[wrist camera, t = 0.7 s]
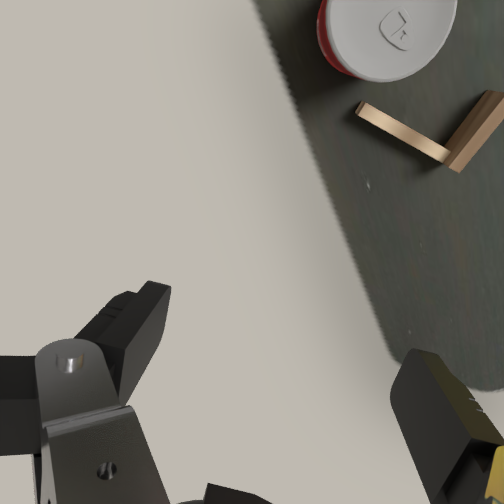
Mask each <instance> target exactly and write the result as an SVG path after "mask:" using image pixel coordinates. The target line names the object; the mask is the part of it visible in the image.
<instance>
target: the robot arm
mask: <svg viewBox="0 0 504 504" xmlns="http://www.w3.org/2000/svg"><path fill="white" fill-rule="evenodd" d="M170 295H171V286H168V285H165V284H161V283H157V282H153V281H147V282H146V283H145V284H144V286H143V287H142V288H141V289H140V290H139V292H138V293H134V292H130V291H126V292H124V293H121V294H119V295H117V296H115V297H113V298H112V299H111V300H110V301H109V302H108V303H107V304H106V306H105V307H103V308H102V309H101V310H100V311H99V313H98V314H97V315H96V316H95V317H94V318H93V319H92V320H91V321H90V322H89V323H88V324H87V325H86V326H85V327H84V328H83V329H82V330H81V331H80V332H79V333H78V334H77V335H76V336H75V337H74V338H73V339H63V340H58V341H55V342H52V343H50V344H48V345H46V346H45V347H43V348H42V349H41V350H40V351H39V352H38V353H37V355H36V356H0V456H7V455H23V454H31V457H32V469H33V481H34V493H35V504H170V502H169V499H168V497H167V494H166V491H165V489H164V486H163V483H162V481H161V478H160V475H159V473H158V470H157V468H156V465H155V462H154V460H153V457H152V455H151V452H150V449H149V447H148V444H147V442H146V439H145V436H144V434H143V431H142V428H141V426H140V423H139V421H138V418H137V415H136V413H135V411H134V409H133V408H132V407H131V406H130V405H128V406H125V405H126V403H127V401H128V400H129V398H130V396H131V394H132V392H133V391H134V389H135V387H136V385H137V384H138V382H139V380H140V378H141V376H142V374H143V373H144V371H145V369H146V367H147V365H148V364H149V362H150V360H151V358H152V356H153V355H154V353H155V351H156V349H157V347H158V346H159V343H160V341H161V338H162V335H163V331H164V327H165V322H166V316H167V311H168V306H169V300H170ZM390 401H391V406H392V409H393V411H394V413H395V416H396V418H397V421H398V423H399V426H400V429H401V431H402V433H403V436H404V439H405V441H406V444H407V446H408V448H409V451H410V454H411V456H412V458H413V461H414V463H415V466H416V469H417V471H418V474H419V476H420V479H421V481H422V483H423V486H424V488H425V491H426V493H427V496H428V498H429V501H430V503H431V504H504V439H503V437H502V436H501V434H500V433H499V432H498V430H497V429H496V428H495V426H494V425H493V423H492V422H491V421H490V419H489V418H488V416H487V415H486V414H485V413H483V409H482V408H481V407H480V405H479V404H478V403H477V402H476V401H475V398H474V397H473V396H472V394H471V393H470V391H469V390H468V389H467V387H466V386H465V385H464V384H463V383H462V382H461V381H459V380H458V379H457V378H456V377H455V376H454V375H453V374H452V373H451V372H450V371H449V369H448V368H447V366H446V365H445V364H444V362H443V361H442V359H441V358H440V356H439V355H437V354H435V353H431V352H427V351H423V350H419V349H415V348H413V349H411V350H410V351H409V352H408V353H407V355H406V357H405V359H404V361H403V364H402V366H401V368H400V370H399V372H398V374H397V376H396V378H395V381H394V383H393V385H392V388H391V392H390ZM179 504H272V503H270V502H268V501H266V500H264V499H263V498H261V497H259V496H257V495H255V494H251V493H247V492H243V491H239V490H234V489H231V488H227V487H222V486H218V485H214V484H210V483H208V484H207V488H206V491H205V495H204V498H203V500H192V501H187V502H181V503H179Z"/></svg>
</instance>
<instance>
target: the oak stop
mask: <svg viewBox="0 0 504 504" xmlns="http://www.w3.org/2000/svg"><path fill="white" fill-rule="evenodd" d="M355 113H356V114H357V115H358V116H360V117H362V118H364V119H365V120H367V121H369V122H371V123H372V124H374V125H376V126H378V127H380V128H381V129H383V130H385V131H387V132H388V133H390V134H392V135H394V136H395V137H397V138H399V139H401V140H403V141H404V142H406V143H408V144H410V145H411V146H413V147H415V148H417V149H418V150H420V151H422V152H424V153H426V154H427V155H429V156H431V157H433V158H434V159H436V160H438V161H440V162H441V163H443V164H445V165H446V166H447V167H449V168H451V169H452V170H454V171H456V172H458V173H460V171H461V170H462V169H463V168H464V167H465V165H466V164H467V163H468V162H469V160H470V159H471V158H472V157H473V156H474V154H475V153H476V152H477V151H478V149H479V148H480V147H481V146H482V145H483V143H484V142H485V141H486V140H487V138H488V137H489V136H490V135H491V134H492V132H493V131H494V130H495V129H496V127H497V126H498V125H499V124H500V123H501V121H502V120H503V119H504V93H502V92H496V91H490V90H487V91H486V92H485V93H484V95H483V96H482V97H481V99H480V100H479V101H478V102H477V104H476V105H475V106H474V108H473V109H472V110H471V112H470V113H469V114H468V116H467V117H466V118H465V119H464V121H463V122H462V123H461V125H460V126H459V127H458V129H457V130H456V131H455V133H454V134H453V135H452V136H451V138H450V139H449V140H448V142H447V143H446V144H445V146H444V147H442V146H440V145H439V144H437V143H435V142H433V141H432V140H430V139H428V138H427V137H425V136H423V135H421V134H420V133H418V132H416V131H414V130H413V129H411V128H409V127H407V126H406V125H404V124H402V123H400V122H399V121H397V120H395V119H393V118H392V117H390V116H388V115H386V114H385V113H383V112H381V111H379V110H378V109H376V108H374V107H372V106H371V105H369V104H367V103H365V102H364V101H361V103H360V105H359V106H358V108H357V110H356V111H355Z"/></svg>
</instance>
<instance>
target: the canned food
mask: <svg viewBox="0 0 504 504" xmlns="http://www.w3.org/2000/svg"><path fill="white" fill-rule="evenodd" d="M456 7H457V0H323V1H322V3H321V6H320V9H319V12H318V18H317V38H318V43H319V46H320V48H321V51H322V53H323V55H324V56H325V58H326V60H327V61H328V62H329V63H330V64H331V65H332V66H333V67H334V68H336V69H337V70H339V71H340V72H343V73H345V74H348V75H350V76H353V77H356V78H359V79H362V80H366V81H372V82H377V83H378V82H391V81H395V80H399V79H403V78H405V77H407V76H409V75H412V74H414V73H415V72H417V71H418V70H420V69H421V68H422V67H424V66H425V65H426V64H427V63H428V62H429V61H430V60H431V59H432V58H433V57H434V56H435V55H436V54H437V52H438V51H439V50H440V48H441V47H442V46H443V44H444V42H445V40H446V38H447V36H448V34H449V32H450V30H451V27H452V24H453V21H454V18H455V14H456Z"/></svg>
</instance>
